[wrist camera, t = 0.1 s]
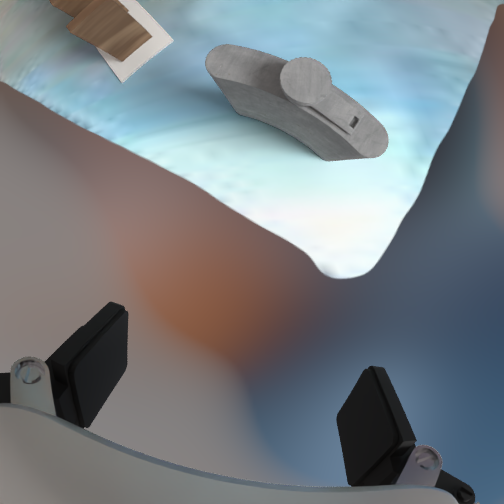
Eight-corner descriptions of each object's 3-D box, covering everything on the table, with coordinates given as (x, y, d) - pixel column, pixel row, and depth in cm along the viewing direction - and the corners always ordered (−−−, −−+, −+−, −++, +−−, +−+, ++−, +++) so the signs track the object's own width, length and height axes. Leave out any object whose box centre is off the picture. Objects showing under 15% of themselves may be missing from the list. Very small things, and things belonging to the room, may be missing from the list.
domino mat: (84, -48, 25) (83, -49, 25) (174, 40, 33) (173, 39, 33) (49, -18, 27) (49, -18, 27) (122, 83, 35) (121, 82, 35)
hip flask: (229, 109, 36) (189, 59, 17) (243, 85, 35) (217, 17, 16) (333, 165, 37) (389, 166, 18) (346, 141, 36) (412, 121, 17)
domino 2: (117, 55, 34) (66, 26, 20) (147, 30, 32) (103, -9, 19) (122, 62, 34) (70, 32, 20) (152, 36, 33) (109, -3, 19)
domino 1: (97, 29, 32) (49, 0, 18) (124, 6, 31) (82, -31, 17) (101, 34, 32) (52, 5, 19) (129, 10, 31) (86, -27, 18)
